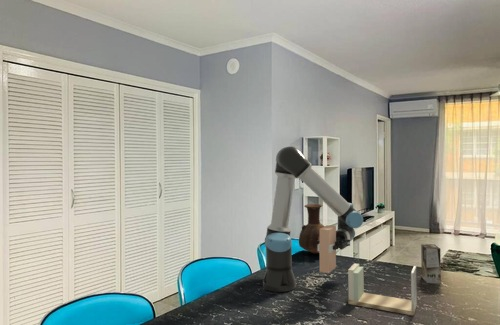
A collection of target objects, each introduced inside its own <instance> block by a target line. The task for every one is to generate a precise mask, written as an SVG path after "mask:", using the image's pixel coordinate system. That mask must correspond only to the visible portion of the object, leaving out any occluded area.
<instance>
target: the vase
mask: <svg viewBox="0 0 500 325" xmlns="http://www.w3.org/2000/svg"><path fill="white" fill-rule="evenodd" d="M322 207H323V204H322V203H321V204H320V203H309V204H305V205H304V208H306V209H307V215H308V217H307V218H308V220H307V221H308V222H307V224H303V225H302V226H301V230H300V233H299V236H298V245H299V247H300V248H301V249H303V250H304V251H307V252H309V253H311V254H313V255H316V254H317V255H319V254H320V251H318V247H317V240H319V239H320V229H321V228H323V227H325V226H326V225H323V224H322V223H321V221H320V212H321V211H320V209H321V208H322Z"/></svg>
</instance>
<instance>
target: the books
mask: <svg viewBox="0 0 500 325" xmlns="http://www.w3.org/2000/svg"><path fill="white" fill-rule="evenodd" d="M364 269H365V268H364V266H360V263H355V262H354V263H353V264H352V265H351V266H350V267H349V268H348V269H347V271H348V272H347V275H348V284H347V285H348V289H347V290H348V300H355V301H359V299H360V298H361V297H362V295H363V294H364V293H365V280H364Z"/></svg>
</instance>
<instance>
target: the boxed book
mask: <svg viewBox="0 0 500 325" xmlns="http://www.w3.org/2000/svg"><path fill="white" fill-rule="evenodd" d="M324 226H325V227H323V228H321V229H320V253H319V273H324V274H330V273H331V272H332V271H334V270H335V269H336V268H337V249H336V250H334V251H332V252H331V253H329V246H330V245H331V244H333V243H335V242H336V231H337V226H336V225H324Z"/></svg>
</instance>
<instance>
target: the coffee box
mask: <svg viewBox="0 0 500 325" xmlns="http://www.w3.org/2000/svg"><path fill="white" fill-rule="evenodd" d="M420 254H421V255H420V256H421V261H420V262H421V263H420V264H421V278H422V279H423V281H425V282H426V283H427V284H442V283H441V281H442V280H441V279H442V276H441V275H442V274H441V270H442V268H441V267H442V265H441V260H442V259H441V248H440V247H439V246H438V245H436V244H429V243H427V244H420Z"/></svg>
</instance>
